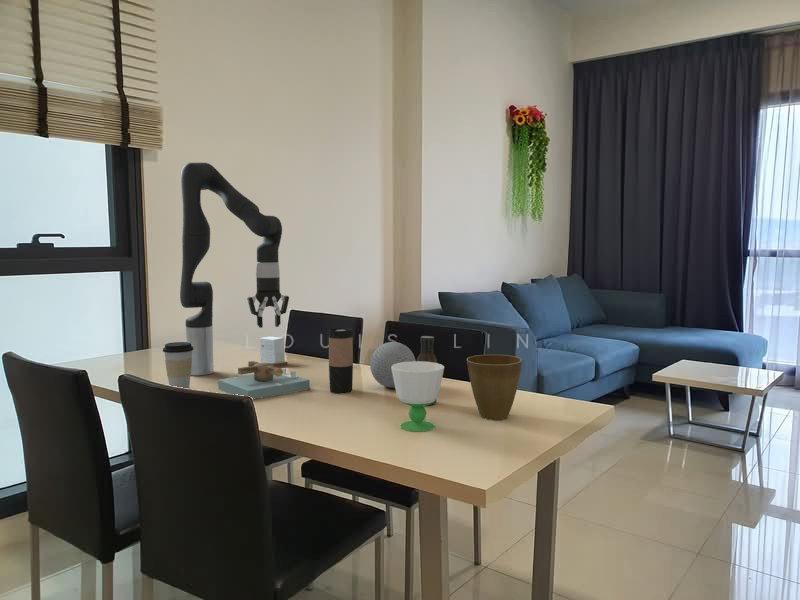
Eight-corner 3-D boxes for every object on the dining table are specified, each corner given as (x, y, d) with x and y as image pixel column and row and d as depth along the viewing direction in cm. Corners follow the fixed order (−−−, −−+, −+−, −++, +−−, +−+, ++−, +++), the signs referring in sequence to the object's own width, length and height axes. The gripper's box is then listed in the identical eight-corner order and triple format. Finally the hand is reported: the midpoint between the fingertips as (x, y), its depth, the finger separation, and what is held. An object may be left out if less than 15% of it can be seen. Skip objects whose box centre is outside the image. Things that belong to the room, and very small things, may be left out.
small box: (285, 364, 241) (284, 337, 240) (275, 366, 237) (274, 339, 236) (270, 362, 246) (269, 336, 245) (259, 364, 241) (259, 337, 240)
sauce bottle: (435, 406, 179) (435, 338, 177) (414, 405, 181) (414, 338, 179) (438, 401, 185) (439, 335, 184) (418, 400, 187) (418, 334, 185)
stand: (218, 388, 201) (217, 373, 200) (277, 378, 215) (277, 364, 215) (249, 400, 185) (248, 384, 185) (310, 389, 200) (310, 374, 200)
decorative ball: (415, 393, 195) (415, 346, 194) (368, 392, 196) (367, 345, 195) (416, 382, 210) (416, 338, 209) (372, 381, 211) (372, 338, 210)
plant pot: (499, 406, 179) (500, 352, 178) (532, 419, 166) (533, 361, 165) (455, 413, 173) (456, 356, 171) (486, 427, 159) (487, 366, 158)
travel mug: (334, 395, 193) (333, 331, 191) (325, 389, 200) (325, 328, 198) (356, 392, 196) (356, 330, 194) (347, 387, 203) (347, 327, 201)
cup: (404, 437, 151) (404, 373, 149) (383, 422, 163) (383, 363, 162) (453, 430, 156) (454, 369, 155) (429, 416, 169) (429, 359, 167)
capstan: (227, 378, 201) (227, 363, 201) (273, 371, 212) (273, 356, 212) (256, 388, 187) (256, 372, 186) (304, 380, 198) (303, 365, 198)
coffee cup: (184, 394, 194) (183, 346, 192) (157, 392, 196) (156, 345, 194) (200, 387, 203) (199, 342, 202) (174, 385, 205) (172, 341, 203)
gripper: (249, 277, 198) (250, 329, 200) (292, 276, 205) (293, 327, 206) (243, 276, 205) (244, 326, 206) (285, 275, 211) (286, 324, 213)
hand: (269, 326), depth 206 cm, fingers open, 5 cm apart
